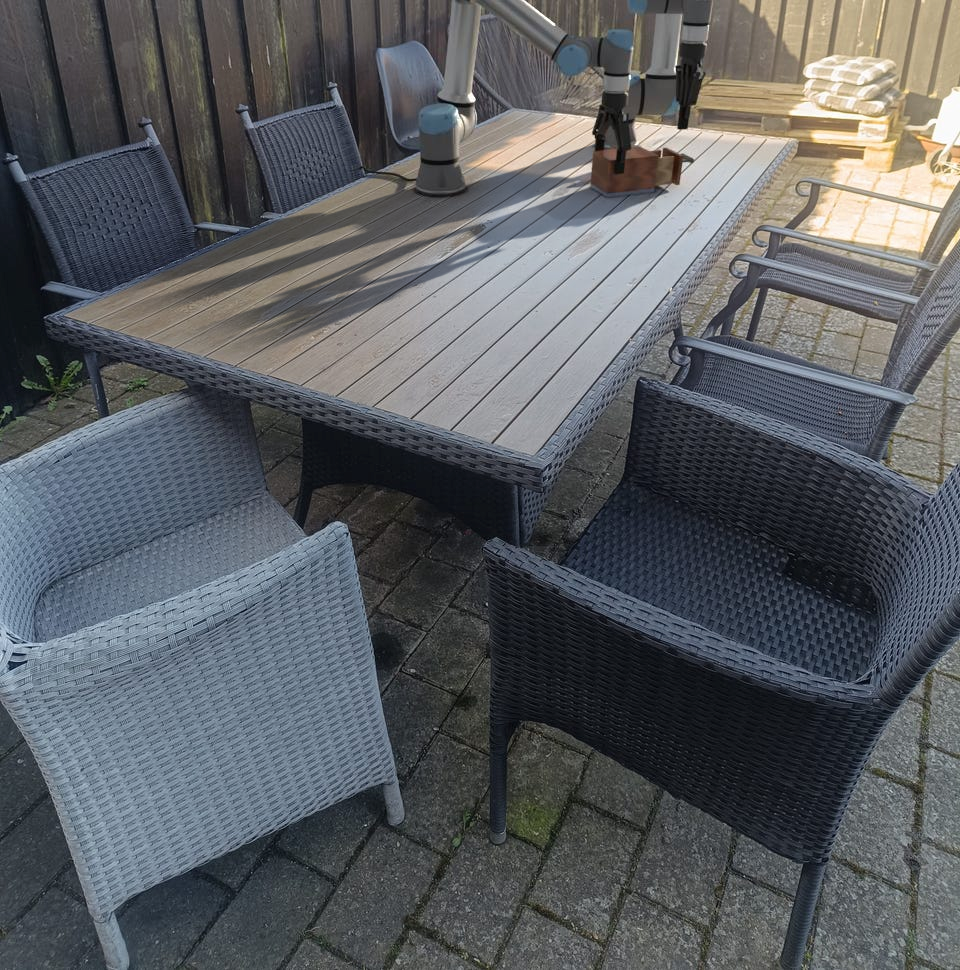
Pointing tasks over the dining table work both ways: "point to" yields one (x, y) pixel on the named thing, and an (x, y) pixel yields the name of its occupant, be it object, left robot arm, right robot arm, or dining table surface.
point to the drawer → (670, 166)
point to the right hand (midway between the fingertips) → (682, 128)
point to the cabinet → (635, 175)
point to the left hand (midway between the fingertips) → (608, 167)
